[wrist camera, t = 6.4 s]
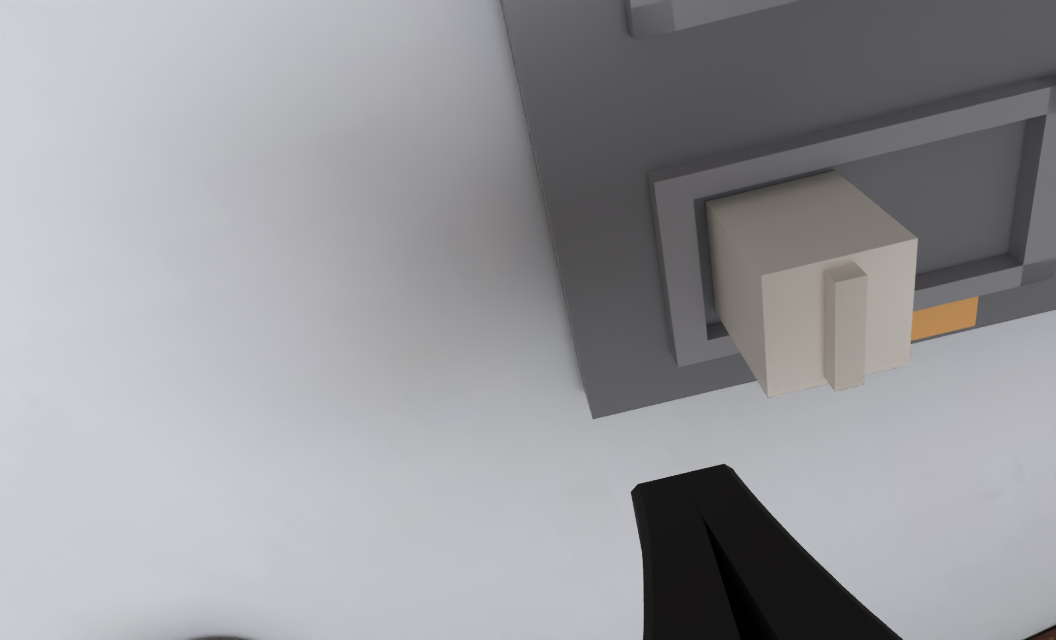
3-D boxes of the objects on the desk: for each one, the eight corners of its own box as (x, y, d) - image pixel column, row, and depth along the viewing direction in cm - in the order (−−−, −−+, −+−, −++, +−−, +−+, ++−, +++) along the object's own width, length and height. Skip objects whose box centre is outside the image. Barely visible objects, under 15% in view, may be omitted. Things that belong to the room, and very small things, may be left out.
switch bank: (1250, -552, 13) (1360, -603, 11) (1081, 274, 21) (1131, 307, 20) (426, -342, 13) (426, -365, 12) (584, 391, 22) (596, 433, 20)
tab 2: (835, 170, 18) (933, 250, 14) (834, 282, 19) (921, 378, 16) (705, 201, 18) (770, 288, 14) (715, 311, 19) (777, 412, 16)
